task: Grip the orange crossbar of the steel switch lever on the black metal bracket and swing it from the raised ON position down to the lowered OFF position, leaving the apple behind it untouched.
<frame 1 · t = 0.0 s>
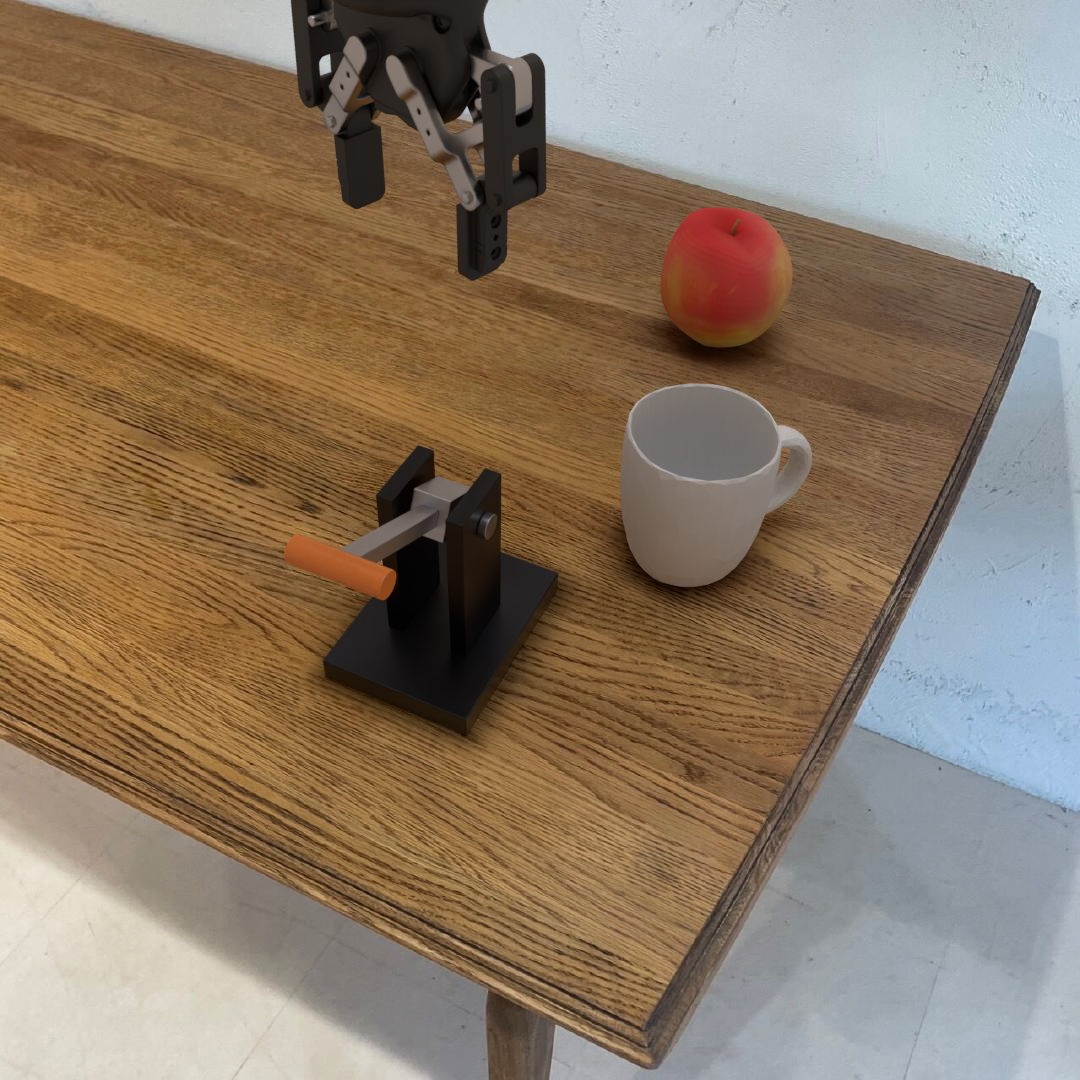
hand: (420, 235, 55), 23 cm above the table, tool pointing down, fingers open, 8 cm apart
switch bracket: (445, 631, 67), on the table
mug: (708, 545, 73), on the table
apple: (714, 337, 89), on the table
switch: (397, 533, 56), point 12 cm above the table, hinge at 25.0°
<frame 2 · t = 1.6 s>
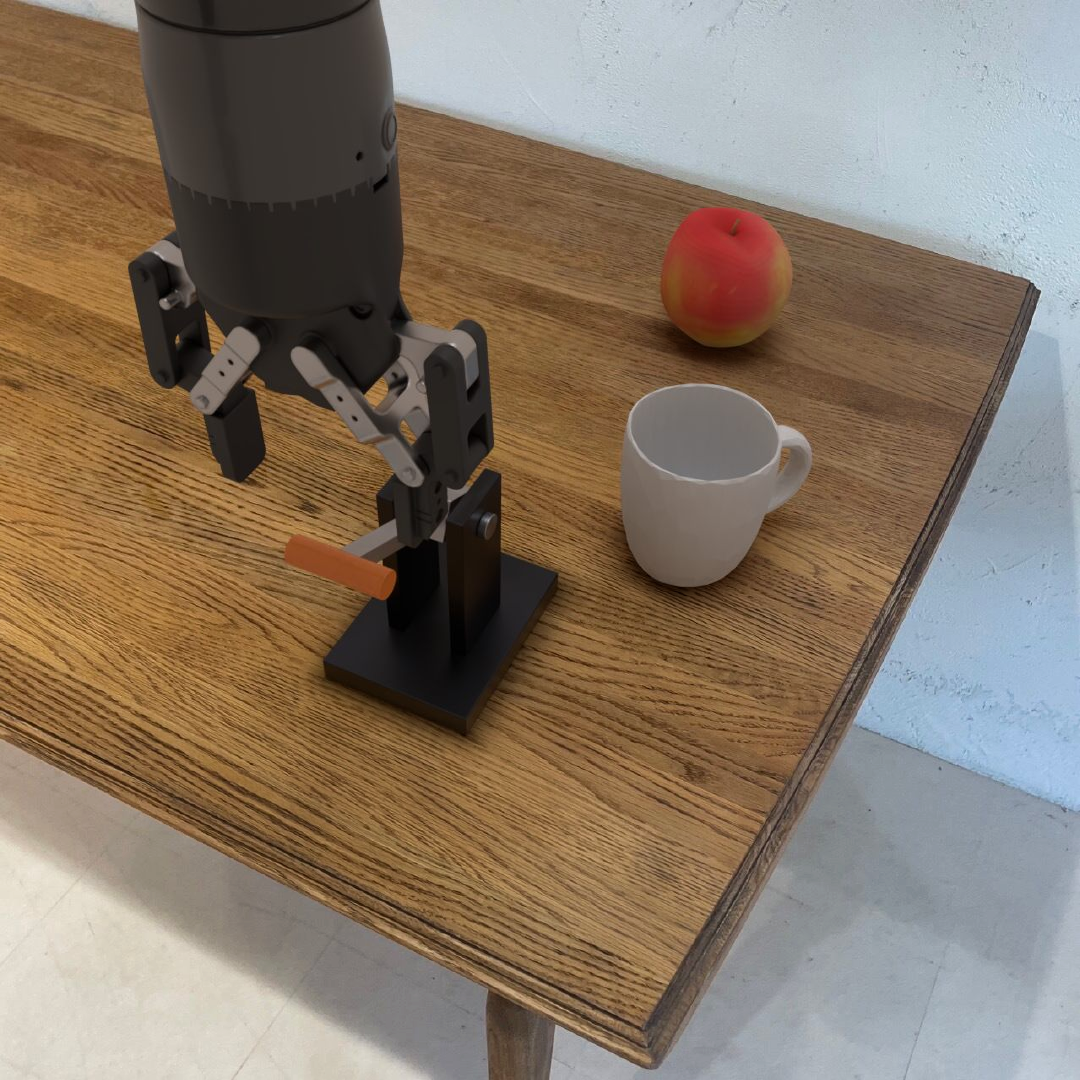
hand: (330, 500, 48), 18 cm above the table, tool pointing down, fingers open, 8 cm apart
nothing on the table moved.
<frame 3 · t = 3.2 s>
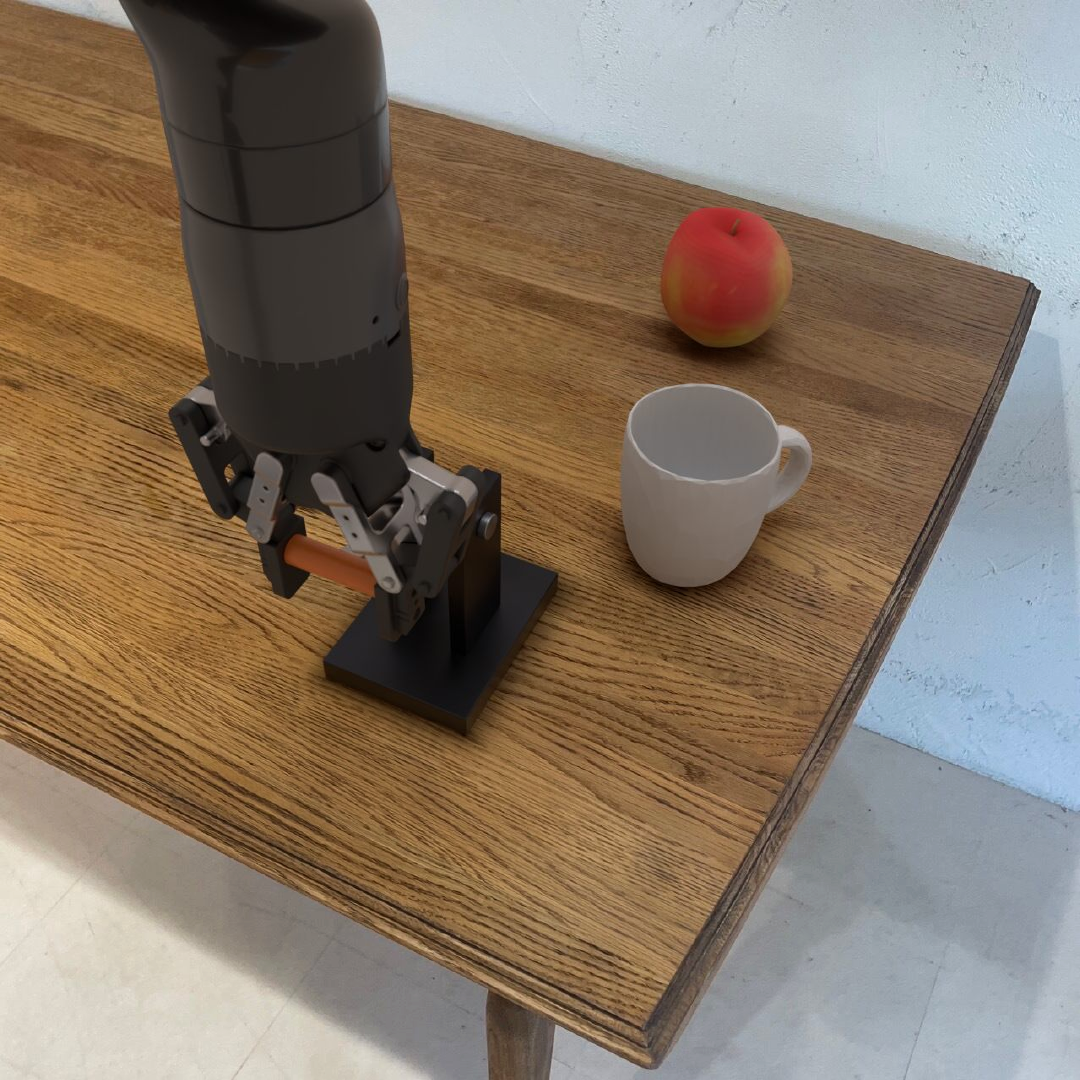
hand: (345, 604, 53), 12 cm above the table, tool pointing down, fingers closed on switch, 5 cm apart
switch: (397, 533, 56), point 12 cm above the table, hinge at 25.0°, touching gripper
everything else where it was.
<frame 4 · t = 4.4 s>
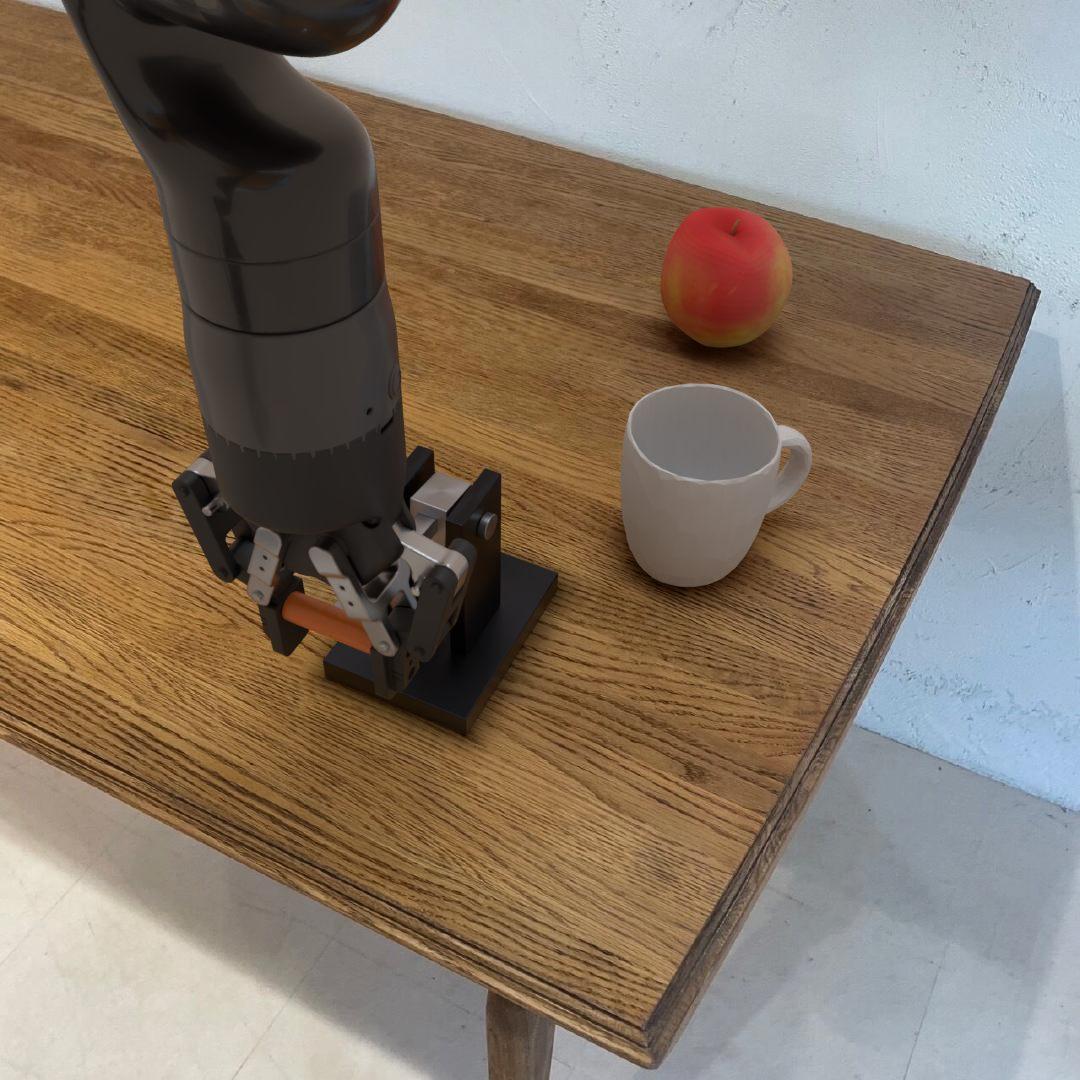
hand: (343, 662, 55), 8 cm above the table, tool pointing down, fingers closed on switch, 5 cm apart
switch: (395, 558, 56), point 11 cm above the table, hinge at 6.9°, touching gripper
everything else where it was.
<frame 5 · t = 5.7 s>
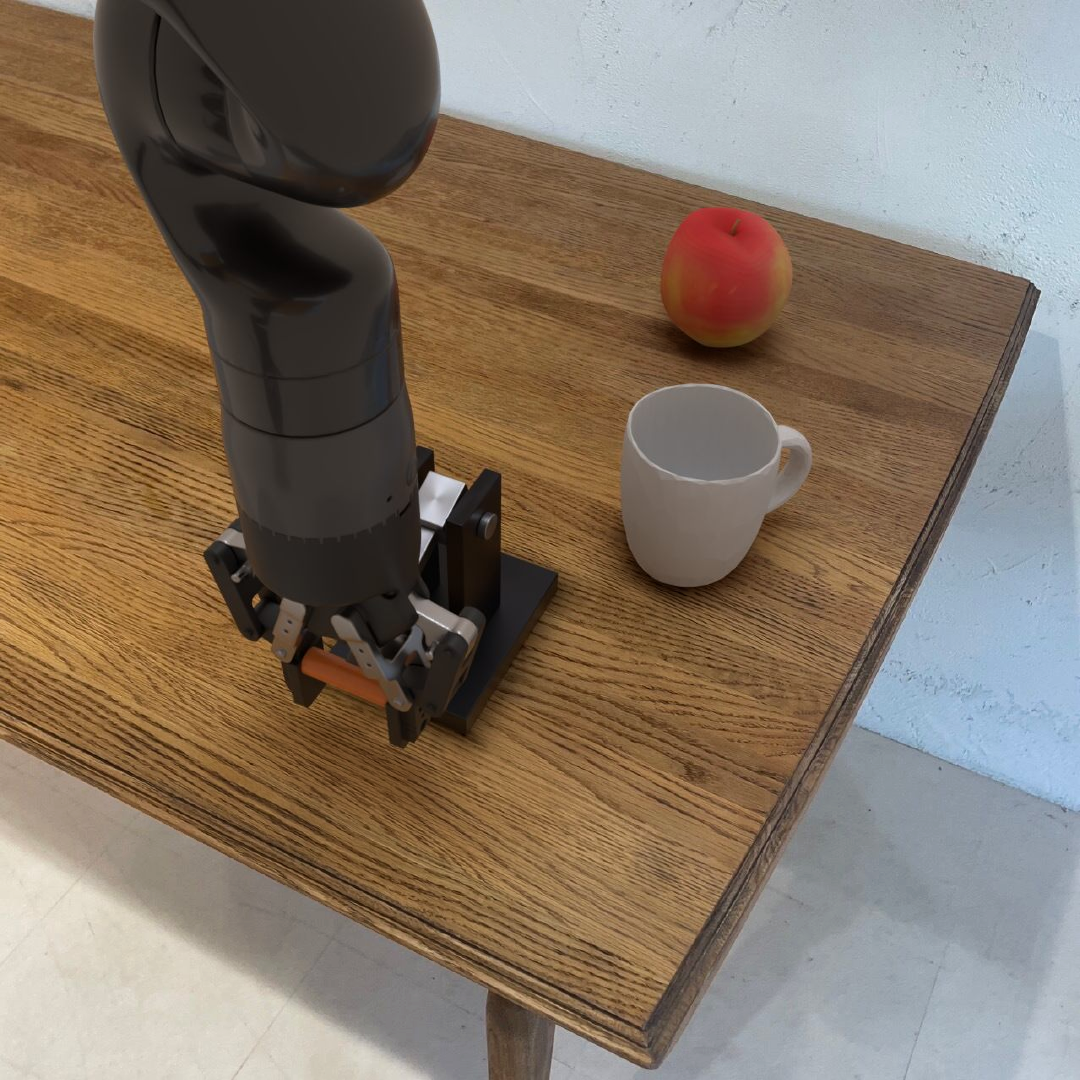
hand: (359, 712, 59), 3 cm above the table, tool pointing down, fingers closed on switch, 5 cm apart
switch: (400, 585, 58), point 8 cm above the table, hinge at -20.5°, touching gripper
everything else where it was.
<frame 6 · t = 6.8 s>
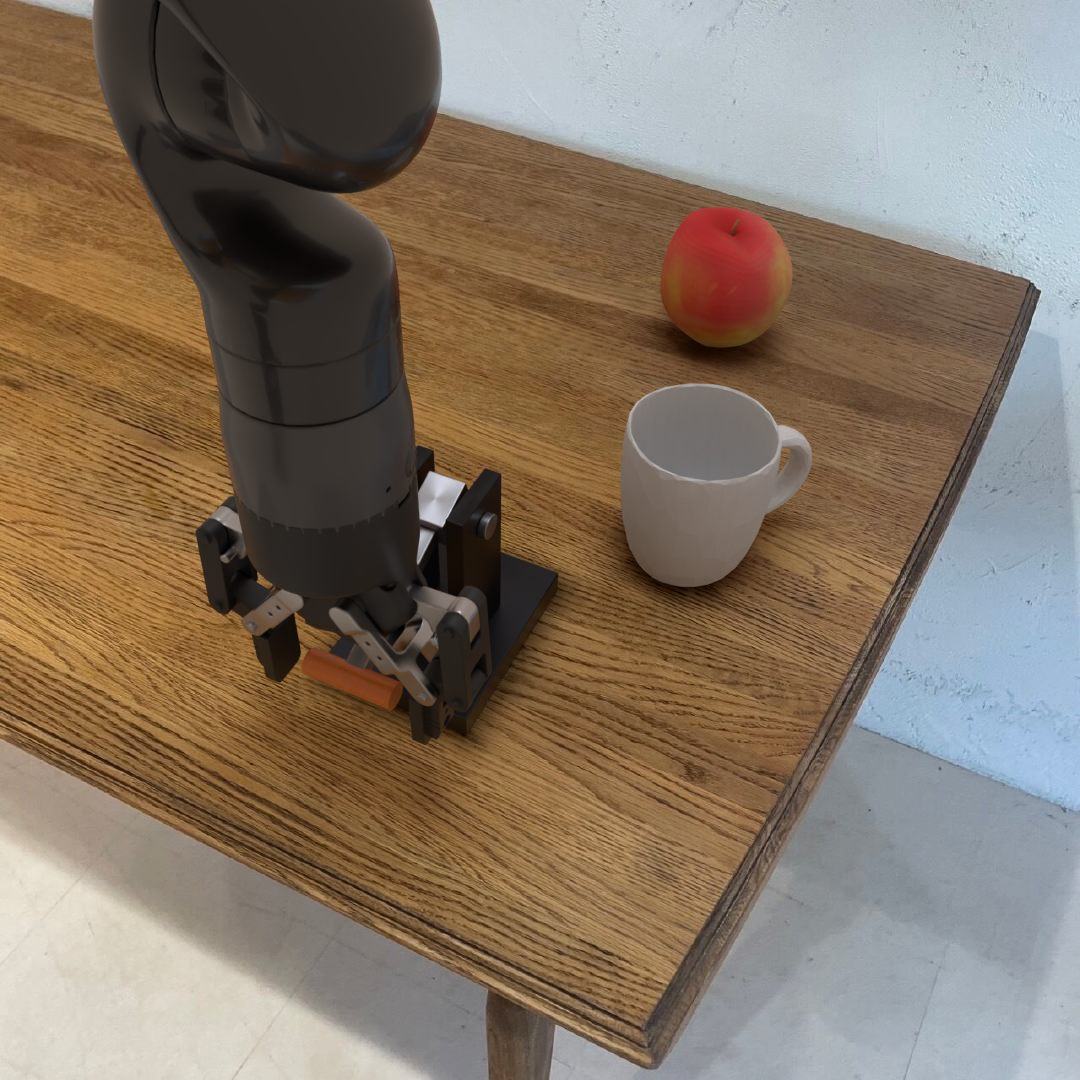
hand: (355, 699, 58), 4 cm above the table, tool pointing down, fingers open, 8 cm apart
switch: (400, 585, 58), point 8 cm above the table, hinge at -21.1°
everything else where it was.
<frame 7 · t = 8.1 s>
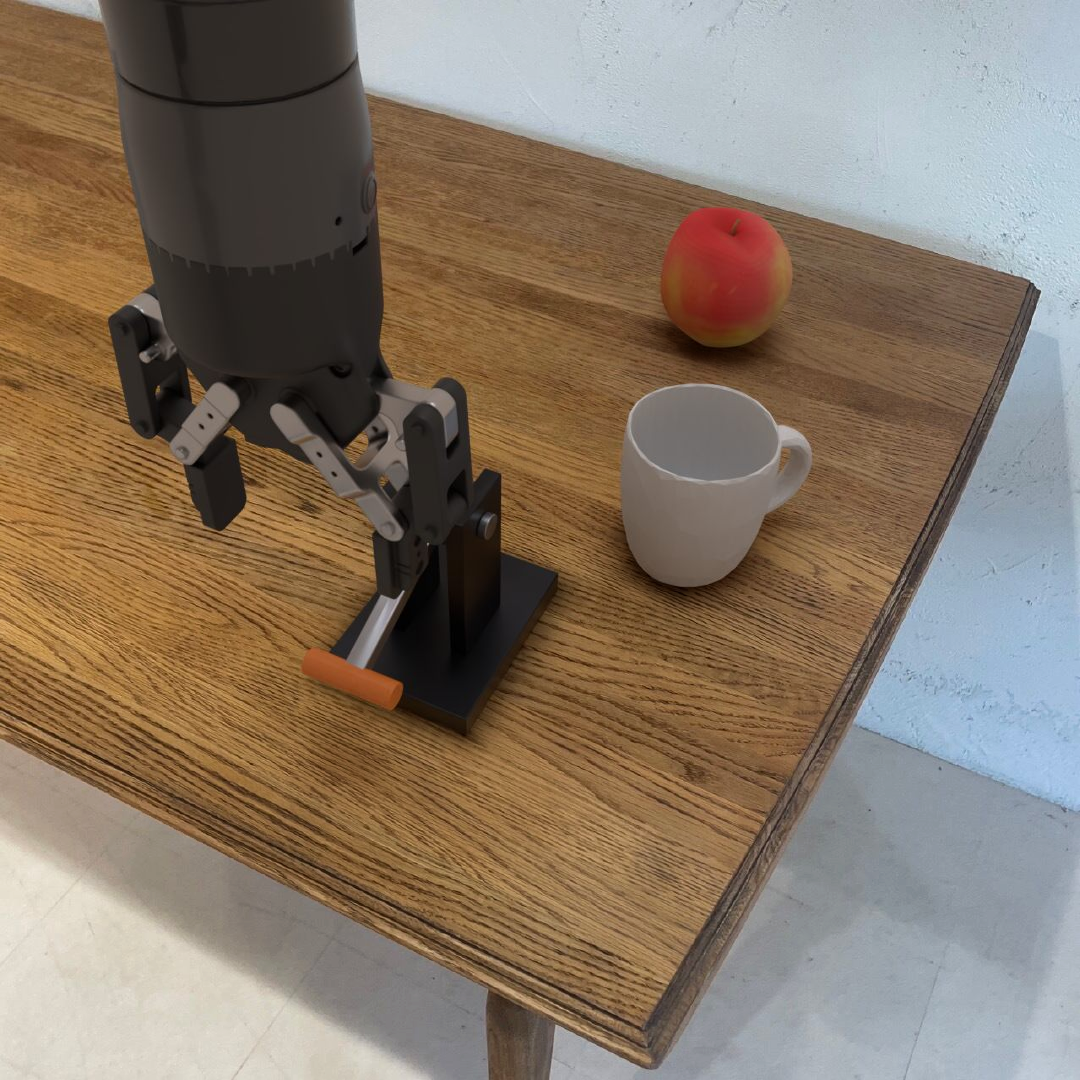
hand: (311, 550, 48), 17 cm above the table, tool pointing down, fingers open, 8 cm apart
nothing on the table moved.
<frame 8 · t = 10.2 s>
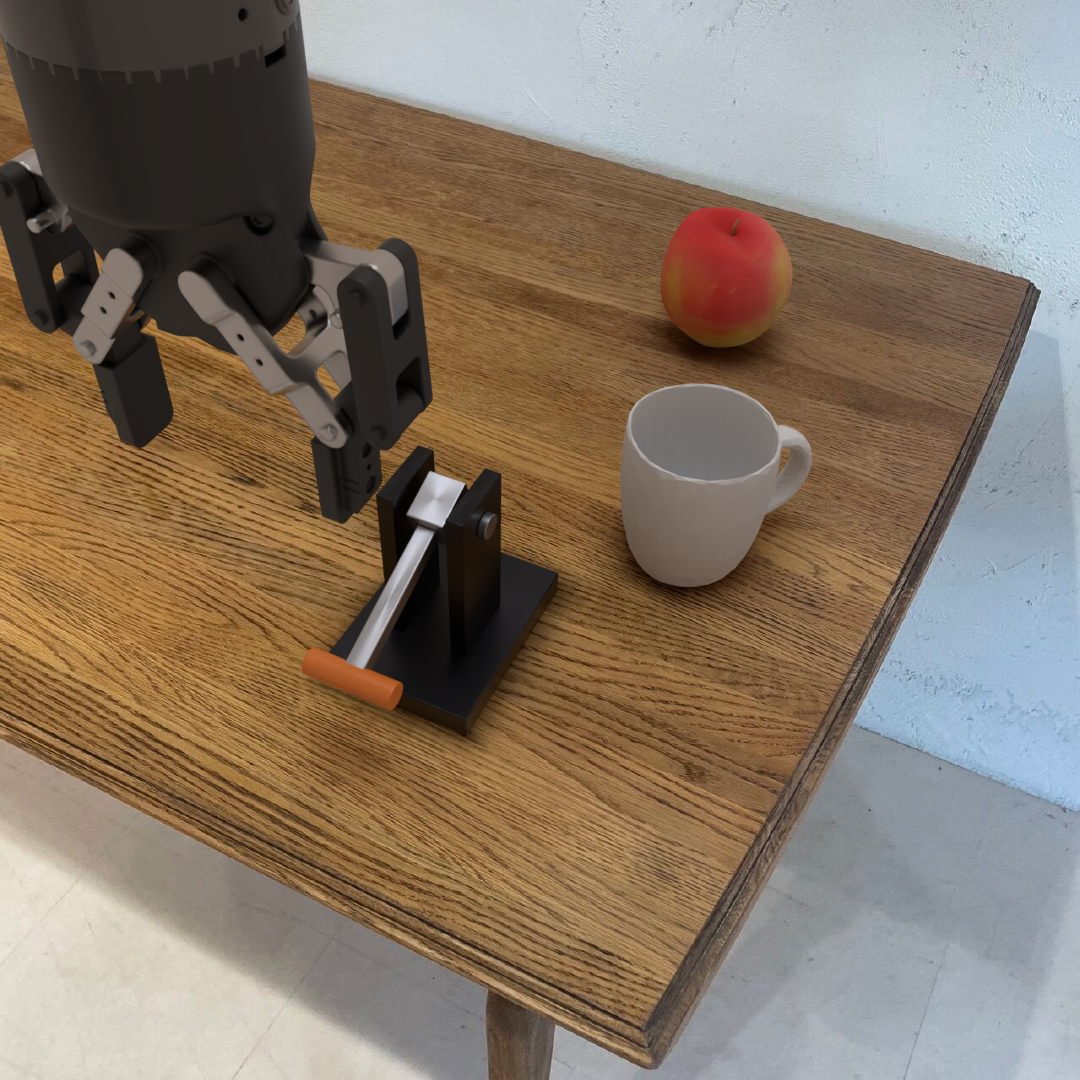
hand: (246, 468, 41), 24 cm above the table, tool pointing down, fingers open, 8 cm apart
nothing on the table moved.
at the end: switch at -21° (first picture: +25°); apple moved 0.2 cm from its start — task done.
